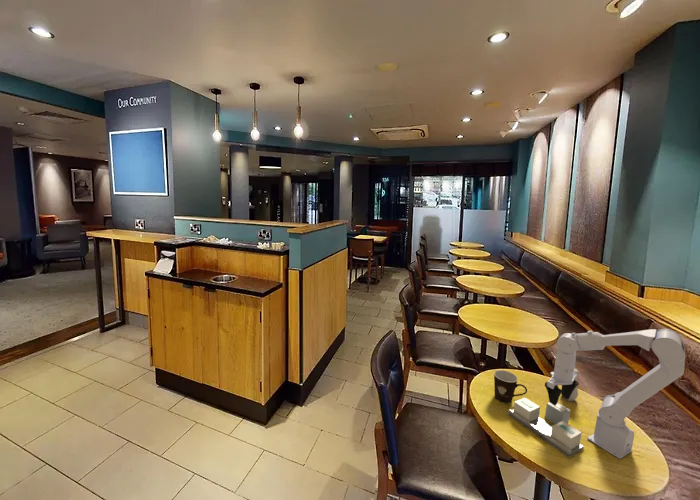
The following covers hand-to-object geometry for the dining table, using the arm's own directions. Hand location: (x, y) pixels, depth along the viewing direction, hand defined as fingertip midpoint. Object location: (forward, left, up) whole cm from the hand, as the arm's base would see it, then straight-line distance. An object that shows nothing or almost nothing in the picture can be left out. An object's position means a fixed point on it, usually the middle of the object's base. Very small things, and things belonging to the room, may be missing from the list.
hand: (559, 400), depth 116 cm
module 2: (-8, +9, -7) cm, 14 cm away
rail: (-1, +9, -8) cm, 13 cm away
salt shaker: (+6, -19, -8) cm, 21 cm away
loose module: (0, 0, -8) cm, 8 cm away
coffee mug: (+16, +6, -8) cm, 19 cm away
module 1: (+6, +9, -7) cm, 13 cm away
